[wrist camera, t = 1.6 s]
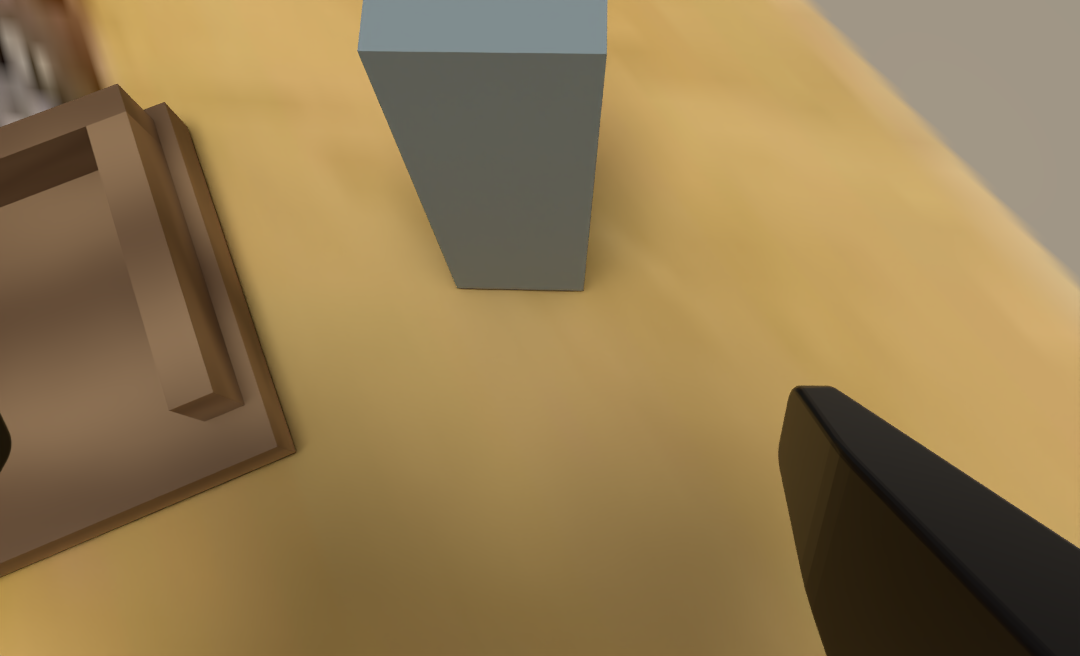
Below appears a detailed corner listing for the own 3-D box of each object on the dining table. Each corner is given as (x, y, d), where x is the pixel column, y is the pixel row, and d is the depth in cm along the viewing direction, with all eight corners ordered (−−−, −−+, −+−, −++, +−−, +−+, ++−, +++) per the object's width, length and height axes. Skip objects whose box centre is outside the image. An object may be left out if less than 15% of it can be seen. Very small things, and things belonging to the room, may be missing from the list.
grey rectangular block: (583, 290, 23) (606, 53, 12) (457, 288, 23) (357, 51, 12) (585, 145, 25) (608, -196, 13) (466, 143, 25) (384, -197, 13)
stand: (295, 452, 22) (248, 437, 19) (-32, 590, 21) (-142, 601, 18) (187, 126, 25) (129, 64, 22) (-103, 236, 24) (-209, 189, 21)
